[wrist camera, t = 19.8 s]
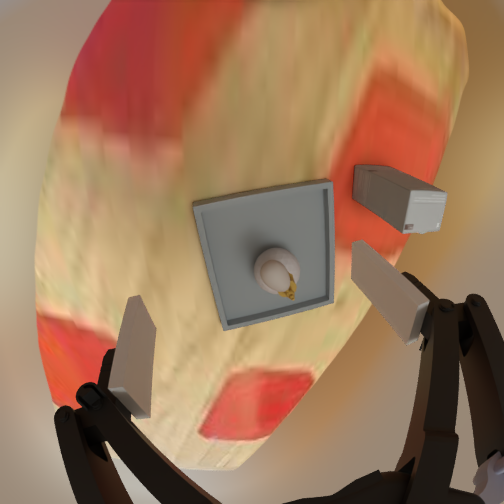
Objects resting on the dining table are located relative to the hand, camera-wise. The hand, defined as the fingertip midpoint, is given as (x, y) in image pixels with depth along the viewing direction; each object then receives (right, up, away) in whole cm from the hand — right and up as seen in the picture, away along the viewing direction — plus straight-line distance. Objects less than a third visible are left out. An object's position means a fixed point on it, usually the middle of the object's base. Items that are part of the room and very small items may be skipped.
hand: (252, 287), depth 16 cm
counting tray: (+3, +1, +32) cm, 32 cm away
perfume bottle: (+2, +1, +31) cm, 32 cm away
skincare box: (+21, +15, +30) cm, 40 cm away
